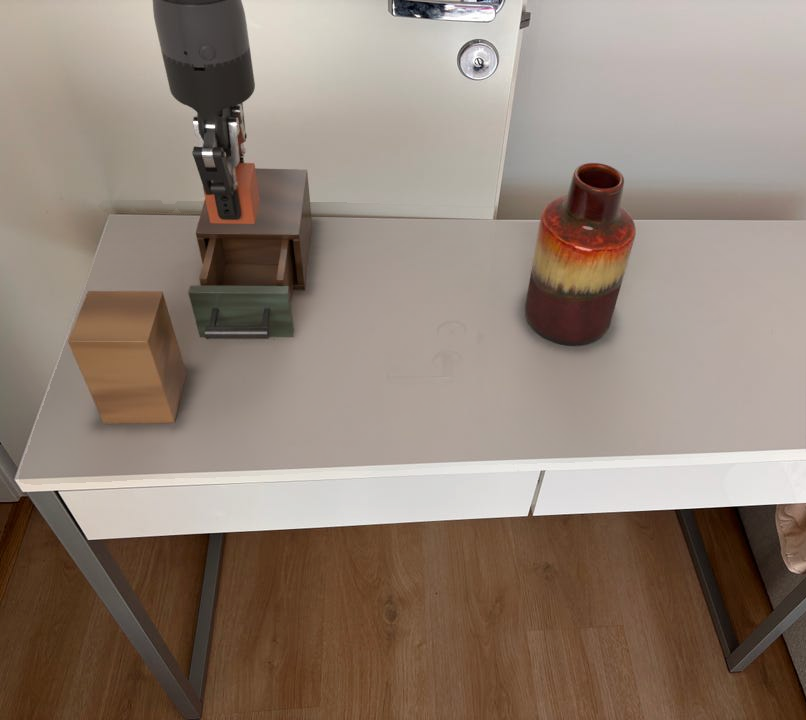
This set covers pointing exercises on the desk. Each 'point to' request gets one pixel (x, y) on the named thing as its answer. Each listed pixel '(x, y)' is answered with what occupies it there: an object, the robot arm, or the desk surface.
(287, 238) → the cabinet
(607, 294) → the vase
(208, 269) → the drawer
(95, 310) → the stand
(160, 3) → the robot arm
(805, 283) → the desk surface
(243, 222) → the block
